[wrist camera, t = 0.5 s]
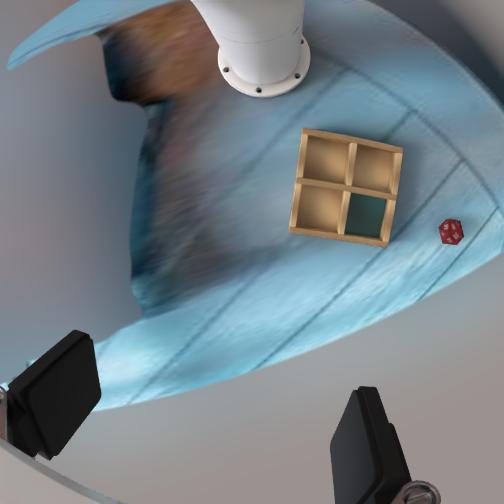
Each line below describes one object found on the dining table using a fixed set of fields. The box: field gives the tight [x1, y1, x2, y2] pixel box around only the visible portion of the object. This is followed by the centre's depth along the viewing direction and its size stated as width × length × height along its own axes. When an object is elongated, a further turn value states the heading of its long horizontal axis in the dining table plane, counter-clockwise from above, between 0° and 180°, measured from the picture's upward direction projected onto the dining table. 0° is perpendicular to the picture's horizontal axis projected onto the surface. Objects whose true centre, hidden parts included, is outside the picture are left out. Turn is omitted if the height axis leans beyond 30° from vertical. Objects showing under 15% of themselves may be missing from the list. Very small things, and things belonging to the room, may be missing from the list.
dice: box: [439, 219, 464, 245], centre depth 38 cm, size 4×4×4 cm
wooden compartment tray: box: [289, 128, 403, 248], centre depth 39 cm, size 14×14×3 cm
